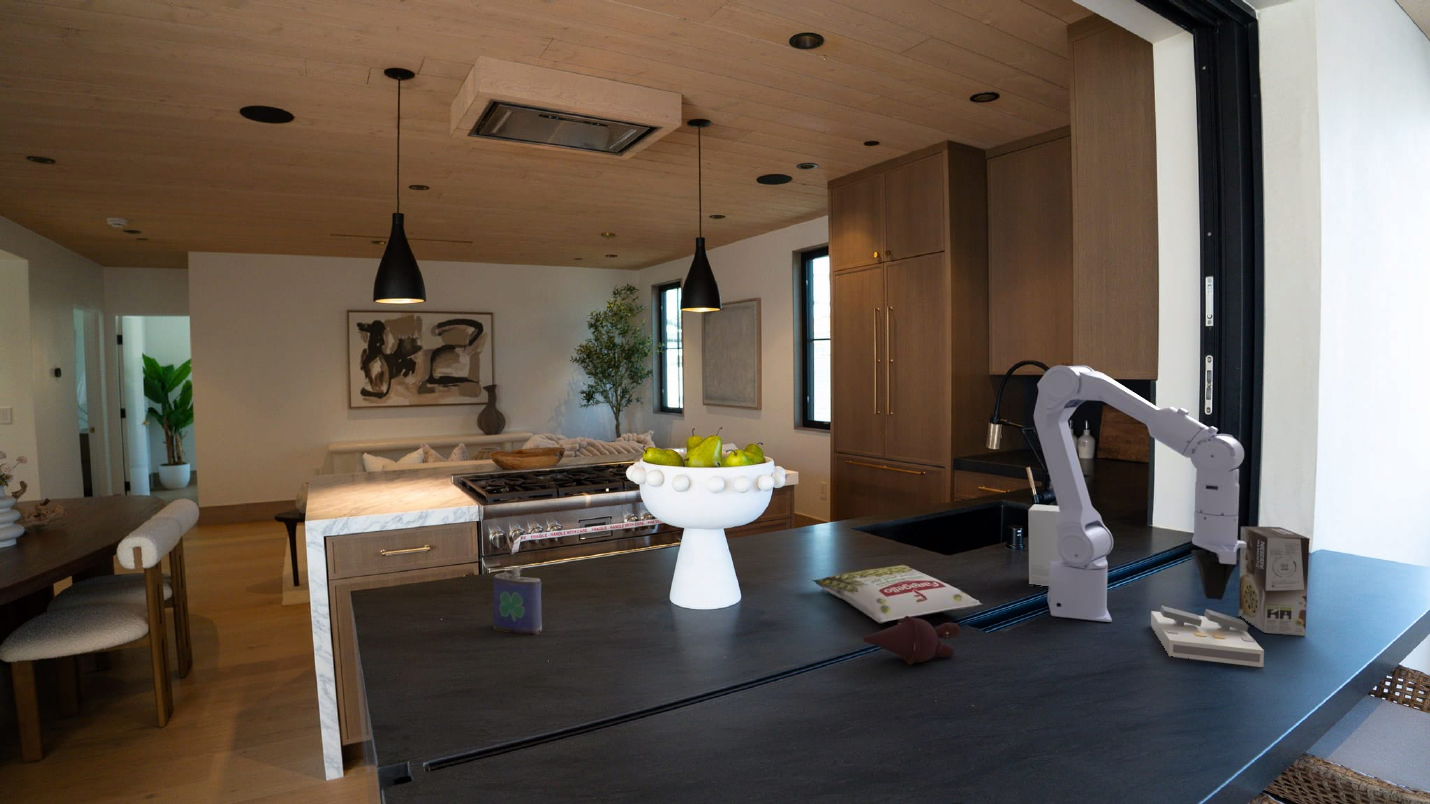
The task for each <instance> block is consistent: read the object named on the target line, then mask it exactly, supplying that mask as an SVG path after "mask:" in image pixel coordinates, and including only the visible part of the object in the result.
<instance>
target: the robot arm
mask: <svg viewBox="0 0 1430 804" xmlns="http://www.w3.org/2000/svg"><path fill="white" fill-rule="evenodd" d="M1036 385H1037V389H1038V394H1037V399H1036V403H1035V408H1034V413H1033V420H1034V425H1035V428H1036V432H1037V434H1038V439H1039V442H1040V446H1041V449H1042V453H1043V456H1044V460H1045V463H1046V467H1047V470H1048V474H1049V478H1050V482H1051V485H1052V488H1053V489H1052V490H1053V493H1054V496H1055V498H1056V503H1057V506H1058V507H1059V510H1060V515H1059V518H1058V521H1057V525H1056V527H1057V531H1058V540H1057V550H1058V553H1059V555H1060V557H1061V558H1062V561H1059V562H1055V561H1051V562H1050V566H1049V587H1048V592H1047V595H1046V596H1047V598H1046V599H1047V603H1048V607H1049V613H1050V615H1051V616H1052V617H1059V618H1068V619H1069V618H1070V619H1077V620H1087V621H1095V622H1096V621H1097V622H1106V623H1107V622H1108V623H1112V621H1113V619H1112V617H1111V615H1110V613H1109V611H1108V608H1107V604H1108V603H1107V601H1108V599H1107V597H1108V565H1109V563H1108V560H1107V555H1109V554H1110V553H1111V551H1112V550H1113V547H1114V538H1113V534H1112V533H1111V532H1110V531H1111V530H1109V528H1108V527H1106V525H1105V524H1104V522H1103V520H1102V516H1101V514H1100V513H1099V512H1098V511H1097V510H1096V509H1095V508H1094V507H1093V505H1092V502H1091V499H1090V498H1091V497H1090V494H1089V491H1088V487H1087V484H1086V481H1085V477H1084V472H1083V470H1082V467H1081V464H1080V459H1079V457H1078V453H1077V450H1076V446H1075V443H1074V439H1073V436H1072V433H1071V429H1070V426H1069V419H1070V417H1071V416H1073V414H1074V412H1075V411H1076V409H1077V408H1078V407H1079V406H1080V405H1081V404H1083V403H1084V402H1086V401H1098V402H1099V401H1101V402H1104V403H1106V404H1107V405H1108V406H1112V407H1113V408H1115V409H1116V410H1118V411H1120V412H1123V413H1124V414H1126V415H1128V416H1129V417H1132V418H1134V419H1135V420H1137V421H1138V422H1140V423H1143V424H1144V425H1146V426H1147V429H1148V433H1149V436H1150V437H1152V438H1153V439H1155V440H1156V441H1158V442H1159V443H1161V444H1162V445H1165V446H1166V447H1168V448H1170V450H1173V451H1174V452H1176V453H1178V454H1179V455H1181V456H1183V457H1185V458H1186V459H1188V458H1189V459H1190V462H1191V463H1192V465H1193V467H1194V468H1195V469H1196V472H1195V473H1196V474H1195V475H1196V477H1195V478H1196V480H1195V482H1194V483H1195V484H1194V486H1195V487H1194V511H1193V512H1194V513H1193V514H1194V518H1193V519H1194V520H1193V521H1194V522H1193V537H1192V539H1191V543H1192V544H1193V545H1194V546H1196V547H1199V548H1201V549H1202V550H1201V549H1191V554H1192V556H1193V558H1194V560H1195V563H1196V565H1197V568H1198V572H1199V575H1200V581H1201V585H1202V586H1201V587H1202V591H1203V595H1204V597H1205V598H1206V599H1209V600H1221V601H1223V598H1224V595H1225V592H1226V588H1227V586H1228V583H1229V580H1230V578H1231V575H1232V574H1233V571H1234V570H1235V569H1236V568H1237V566H1238V565H1239V564H1240V558H1238V557H1237V551H1238V550H1239V549H1240V547H1241V548H1246V543H1245V542H1244V541H1241V540H1239V539H1238V533H1239V532H1238V531H1239V530H1238V529H1239V505H1240V503H1239V501H1240V499H1239V498H1240V484H1239V480H1240V479H1239V478H1240V469H1239V468H1238V467H1239V466H1240V465H1241V464H1242V463H1243V460H1244V458H1245V450H1244V446H1242V444H1241V443H1240V441H1238V440H1237V439H1236V438H1234V436H1233V435H1231V434H1226V433H1217V432H1218V431H1219V429H1218V428H1217V427H1214V426H1213V425H1212V426H1207V425H1205V424H1203V423H1202V422H1200V421H1198V420H1196V419H1195V418H1193V417H1191V416H1189V413H1190V411H1188V410H1187V409H1185V408H1184V407H1181V408H1178V409H1177V408H1175V407H1173V406H1171V407H1166V408H1159V407H1157V405H1154V404H1153V403H1152V402H1149V401H1148V400H1146V399H1145V398H1143V397H1141V396H1140V395H1138V394H1137V393H1135V392H1133V391H1132V390H1130V389H1129V388H1127V387H1125V386H1124V385H1122V384H1121V383H1119V382H1118V381H1116V380H1114V379H1113V378H1111V377H1110V376H1108V375H1106V374H1105V373H1103V372H1101V371H1097V370H1094V369H1093V368H1091V367H1090V366H1088V365H1083V364H1078V365H1062V364H1059V365H1055V366H1052V367H1051V368H1049V369H1047V371H1046V372H1045V373H1044V374H1043V376H1042V377H1041V378H1040V380H1039V381H1038V383H1036Z"/></svg>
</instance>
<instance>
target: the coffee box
mask: <svg viewBox="0 0 1430 804" xmlns="http://www.w3.org/2000/svg"><path fill="white" fill-rule="evenodd" d="M1240 541H1244V542H1245V543H1246V548H1241V547H1240V548H1239V549H1240V554H1239V591H1238V593H1239V594H1238V596H1239V599H1238V617H1240V616H1241V617H1242V618H1241V617H1240V618H1241V619H1243V618H1244V619H1245V620H1244V619H1243V620H1244V621H1245V622H1247V621H1248V622H1247V623H1249V624H1250V623H1251V624H1250V625H1252V626H1253V625H1254V626H1253V627H1255V628H1256V629H1258V630H1259V631H1261V632H1263V633H1264V634H1275V635H1276V634H1278V635H1280V634H1281V635H1289V636H1290V635H1291V636H1301V637H1303V636H1305V635H1306V632H1307V631H1306V629H1307V628H1306V627H1307V611H1308V610H1307V609H1308V608H1307V606H1308V605H1307V604H1308V581H1309V580H1308V579H1309V561H1310V560H1309V559H1310V541H1311V538H1309V537H1307V536H1305V535H1302V534H1300V533H1296V532H1293V531H1291V530H1288V529H1286V528H1283V527H1279V526H1245V525H1244V526H1240Z"/></svg>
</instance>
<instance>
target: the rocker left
mask: <svg viewBox="0 0 1430 804" xmlns="http://www.w3.org/2000/svg"><path fill="white" fill-rule="evenodd" d="M1159 612H1160V613H1161V614H1162V616H1163V617H1166V618H1170V619H1174V621H1175V623H1176V624H1178V625H1181V626H1184V623H1189V624H1193V625H1196V626H1201V622H1202V620H1201V619H1200V618H1199V616H1200V615H1198V614H1195V613H1192V612H1187V611H1184V610H1180V609H1176V608H1172V607H1170V606H1165V605H1160V608H1159Z"/></svg>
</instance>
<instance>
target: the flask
mask: <svg viewBox="0 0 1430 804" xmlns="http://www.w3.org/2000/svg"><path fill="white" fill-rule="evenodd" d="M509 570H510V571H511V572H510V573H508V572H507V571H504V572H503V573H502V572H501V573H496V574H495V575H493V581H492V582H493V585H492V586H493V592H492V594H493V609H492V610H493V615H492V617H493V629H494V630H496V631H501V632H505V633H513V634H522V635H527V636H528V635H532V636H533V635H539V634H540V633H542V631H543V622H542V621H543V620H542V580H541V578H540V577H539V578H537V577H524V576H521V571H522V567H521V566H516V567H515V566H514V567H513V566H512V567H510V568H509Z"/></svg>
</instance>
